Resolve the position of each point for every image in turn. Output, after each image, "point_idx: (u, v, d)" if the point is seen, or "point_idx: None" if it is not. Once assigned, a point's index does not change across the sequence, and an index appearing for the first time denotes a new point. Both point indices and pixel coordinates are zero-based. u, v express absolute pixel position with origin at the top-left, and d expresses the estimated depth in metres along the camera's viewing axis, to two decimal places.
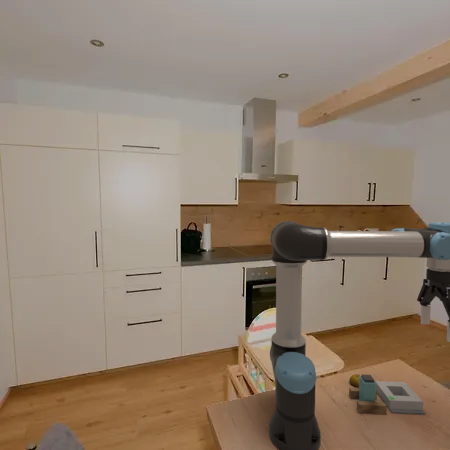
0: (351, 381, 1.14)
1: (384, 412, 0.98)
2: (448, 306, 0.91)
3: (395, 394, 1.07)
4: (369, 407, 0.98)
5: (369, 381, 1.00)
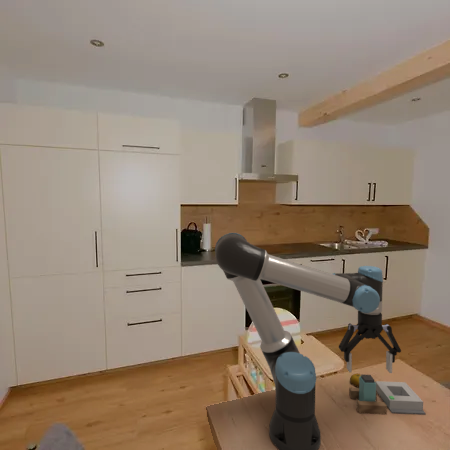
0: (351, 380, 1.14)
1: (384, 412, 0.98)
2: (352, 339, 1.02)
3: (395, 394, 1.07)
4: (369, 407, 0.98)
5: (369, 381, 1.00)
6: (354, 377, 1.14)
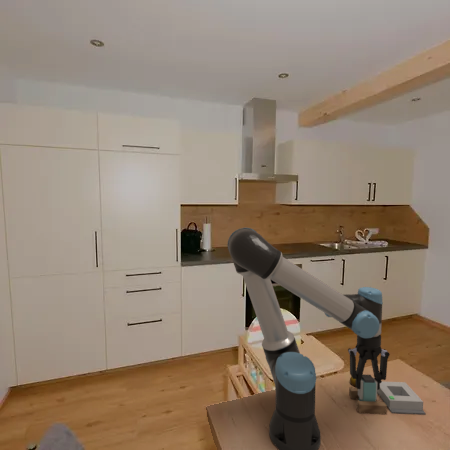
0: (351, 381, 1.14)
1: (384, 412, 0.98)
2: (358, 365, 1.03)
3: (395, 394, 1.07)
4: (369, 407, 0.98)
5: (369, 381, 1.00)
6: None
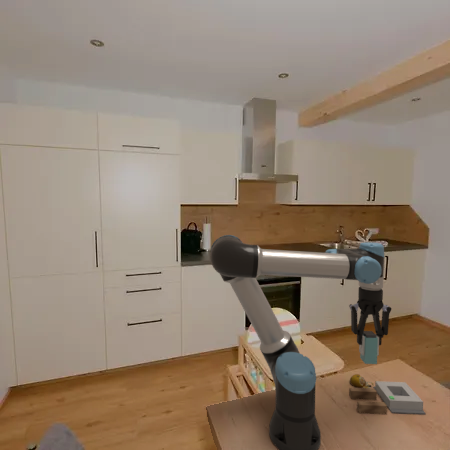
0: (352, 381, 1.13)
1: (384, 412, 0.98)
2: (359, 321, 1.02)
3: (395, 394, 1.07)
4: (369, 407, 0.98)
5: (371, 336, 0.99)
6: (354, 378, 1.13)
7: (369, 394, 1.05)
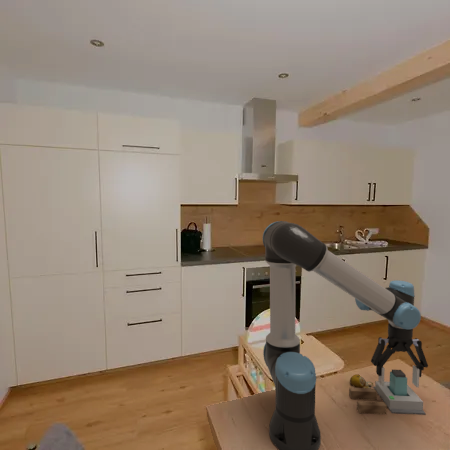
0: (352, 382, 1.13)
1: (384, 412, 0.98)
2: (383, 353, 1.05)
3: None
4: (369, 407, 0.98)
5: (400, 376, 1.03)
6: (355, 378, 1.13)
7: (369, 394, 1.05)
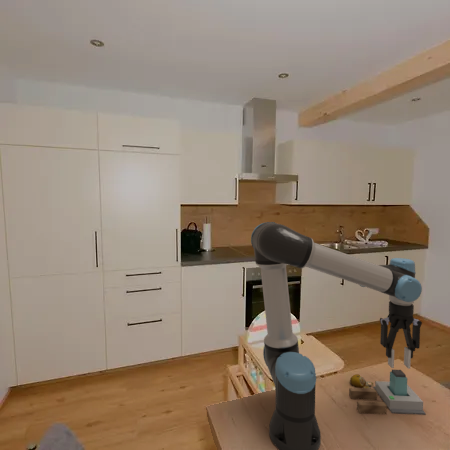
0: (352, 382, 1.13)
1: (384, 412, 0.98)
2: (389, 334, 1.04)
3: None
4: (369, 407, 0.98)
5: (400, 376, 1.03)
6: (355, 378, 1.13)
7: (369, 394, 1.05)
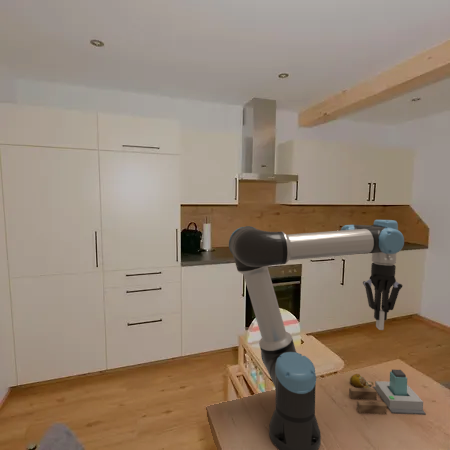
0: (352, 381, 1.13)
1: (384, 412, 0.98)
2: (375, 296, 1.04)
3: None
4: (369, 407, 0.98)
5: (400, 376, 1.03)
6: (355, 378, 1.13)
7: (369, 394, 1.05)
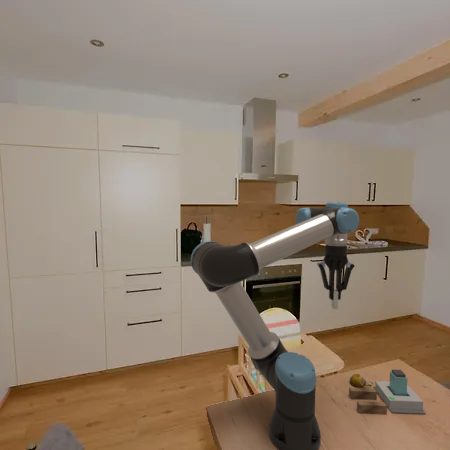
0: (352, 381, 1.13)
1: (384, 412, 0.98)
2: (329, 277, 1.07)
3: None
4: (369, 407, 0.98)
5: (400, 376, 1.03)
6: (355, 378, 1.13)
7: (369, 394, 1.05)
